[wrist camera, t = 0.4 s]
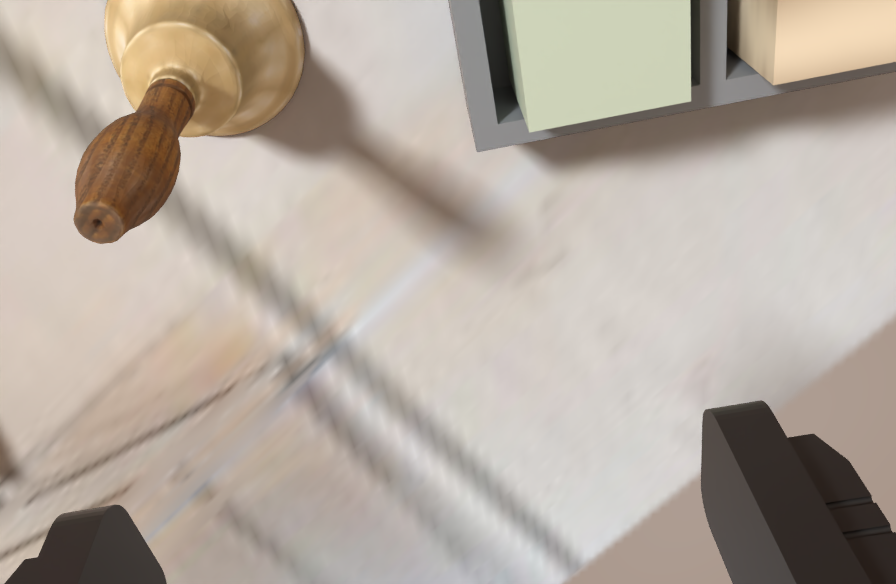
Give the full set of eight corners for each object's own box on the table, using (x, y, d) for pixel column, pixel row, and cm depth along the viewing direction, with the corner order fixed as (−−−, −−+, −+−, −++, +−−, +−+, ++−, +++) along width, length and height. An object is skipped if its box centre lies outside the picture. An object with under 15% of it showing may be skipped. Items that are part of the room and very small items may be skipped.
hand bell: (297, -60, 32) (228, 65, 19) (310, 134, 36) (263, 345, 23) (86, -65, 31) (-140, 60, 18) (126, 133, 36) (-29, 348, 23)
